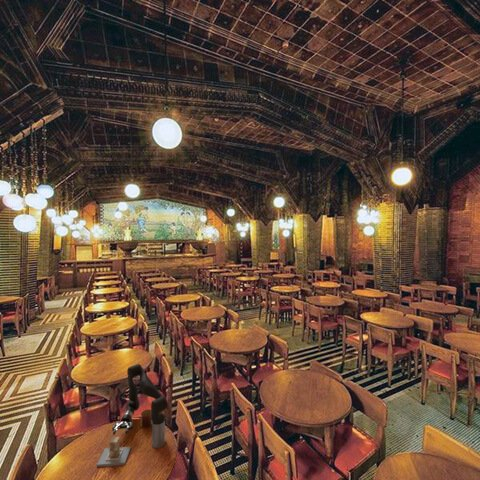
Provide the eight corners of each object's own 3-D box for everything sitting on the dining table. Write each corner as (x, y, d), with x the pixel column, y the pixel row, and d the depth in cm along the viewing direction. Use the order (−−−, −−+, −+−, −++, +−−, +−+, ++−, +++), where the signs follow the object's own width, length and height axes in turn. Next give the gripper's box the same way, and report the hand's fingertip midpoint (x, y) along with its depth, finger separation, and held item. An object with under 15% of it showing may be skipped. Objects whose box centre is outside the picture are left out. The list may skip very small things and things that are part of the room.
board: (130, 448, 197) (130, 445, 197) (124, 464, 183) (124, 461, 183) (105, 450, 196) (105, 447, 196) (96, 466, 182) (96, 463, 182)
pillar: (119, 452, 192) (119, 436, 192) (116, 457, 187) (117, 442, 187) (112, 452, 192) (112, 437, 192) (109, 458, 187) (109, 442, 187)
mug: (142, 430, 216) (142, 417, 216) (140, 423, 223) (140, 411, 223) (157, 424, 223) (157, 412, 222) (154, 418, 230) (154, 406, 230)
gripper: (117, 414, 216) (109, 428, 200) (136, 413, 217) (129, 427, 201) (117, 423, 216) (109, 438, 200) (136, 422, 217) (129, 437, 201)
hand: (119, 433), depth 200 cm, fingers open, 8 cm apart
